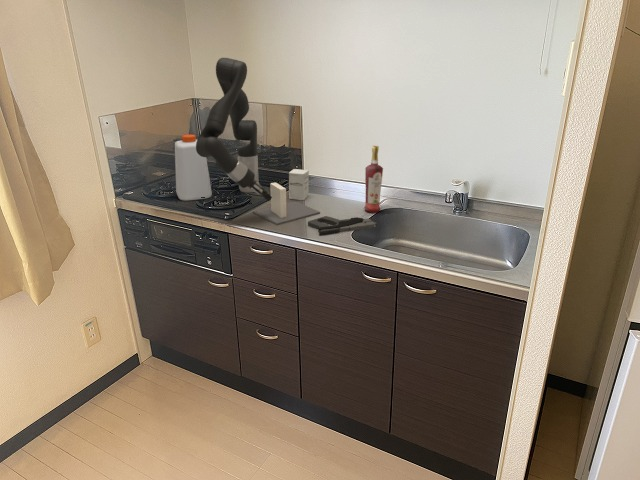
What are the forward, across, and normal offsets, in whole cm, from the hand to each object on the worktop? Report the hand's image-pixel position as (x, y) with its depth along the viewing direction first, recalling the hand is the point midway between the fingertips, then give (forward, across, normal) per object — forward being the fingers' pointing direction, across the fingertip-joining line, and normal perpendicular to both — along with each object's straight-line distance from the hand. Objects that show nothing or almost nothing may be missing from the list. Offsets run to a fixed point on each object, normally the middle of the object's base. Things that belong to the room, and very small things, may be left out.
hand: (269, 198), depth 207 cm
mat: (+11, +1, 0) cm, 11 cm away
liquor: (+35, -14, -24) cm, 45 cm away
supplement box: (+21, +17, -10) cm, 29 cm away
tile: (+8, 0, +2) cm, 8 cm away
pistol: (+21, -22, -9) cm, 32 cm away
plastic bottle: (-8, +42, +20) cm, 48 cm away
